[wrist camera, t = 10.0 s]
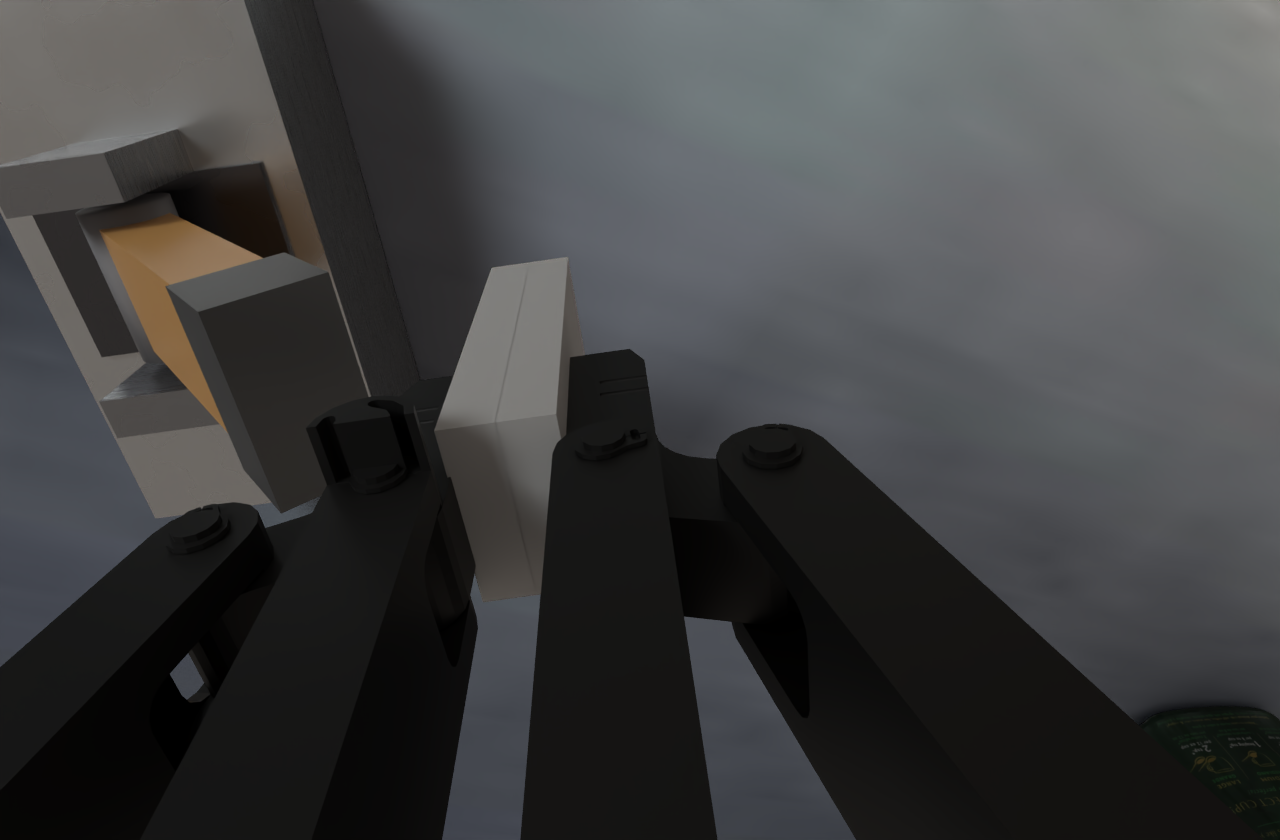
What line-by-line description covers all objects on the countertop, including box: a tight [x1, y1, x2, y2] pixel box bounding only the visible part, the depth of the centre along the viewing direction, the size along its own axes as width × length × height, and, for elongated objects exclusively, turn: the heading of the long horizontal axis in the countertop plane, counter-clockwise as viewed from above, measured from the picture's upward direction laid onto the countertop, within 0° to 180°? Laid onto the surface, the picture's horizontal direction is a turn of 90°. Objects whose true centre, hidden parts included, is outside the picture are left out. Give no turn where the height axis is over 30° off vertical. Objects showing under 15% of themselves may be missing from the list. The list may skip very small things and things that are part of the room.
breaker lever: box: [75, 193, 369, 513], centre depth 19 cm, size 2×4×14 cm
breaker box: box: [0, 0, 420, 518], centre depth 26 cm, size 9×18×10 cm, turn 7°
